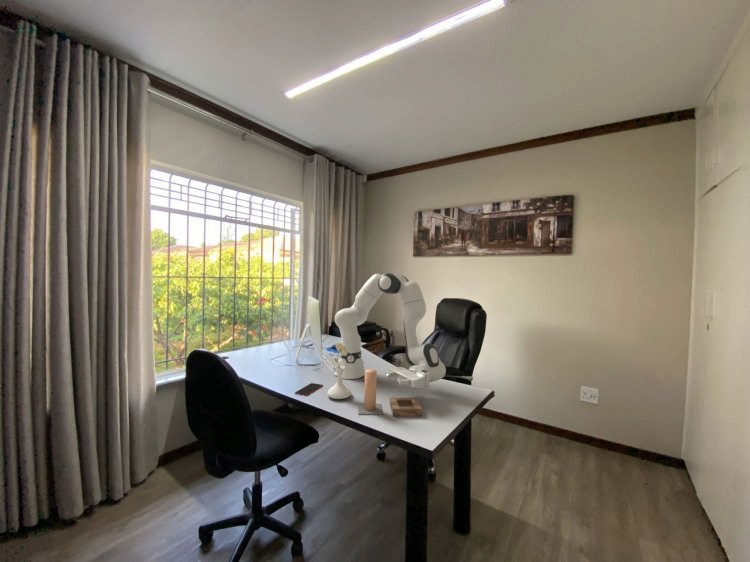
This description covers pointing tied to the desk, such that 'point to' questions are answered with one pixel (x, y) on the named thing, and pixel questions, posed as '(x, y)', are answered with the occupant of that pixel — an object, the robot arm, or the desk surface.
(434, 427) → the desk surface
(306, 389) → the smartphone
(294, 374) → the desk surface
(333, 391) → the flower in vase
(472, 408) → the desk surface
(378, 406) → the mat
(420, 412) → the holder
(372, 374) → the peg
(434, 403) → the desk surface
